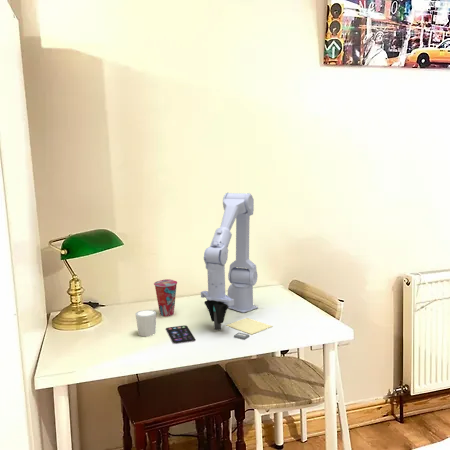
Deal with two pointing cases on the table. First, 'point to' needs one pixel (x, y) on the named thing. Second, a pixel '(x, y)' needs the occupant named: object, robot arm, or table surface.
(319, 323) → the table surface
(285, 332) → the table surface
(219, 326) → the marker
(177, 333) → the smartphone
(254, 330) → the note pad
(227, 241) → the robot arm
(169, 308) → the cup
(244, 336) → the word tile
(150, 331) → the white short cylinder
